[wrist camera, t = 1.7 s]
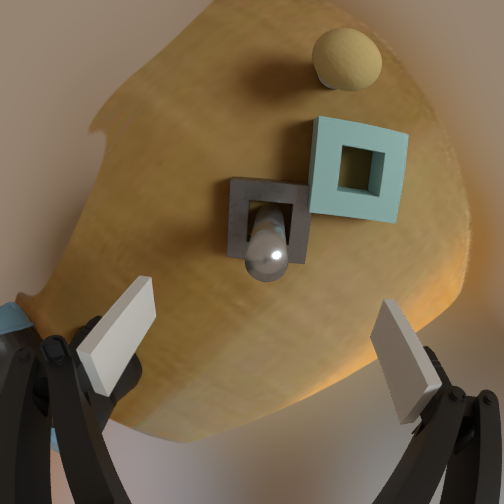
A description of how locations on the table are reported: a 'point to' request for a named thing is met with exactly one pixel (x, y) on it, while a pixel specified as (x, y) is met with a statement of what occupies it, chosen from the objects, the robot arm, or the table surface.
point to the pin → (267, 245)
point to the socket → (381, 175)
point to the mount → (271, 192)
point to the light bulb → (346, 60)
